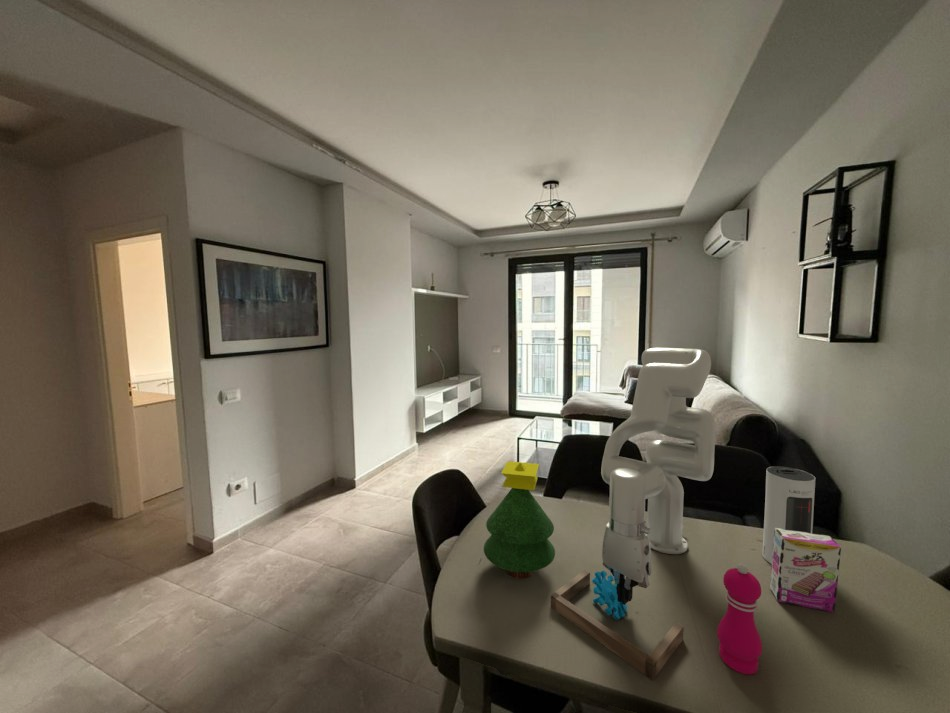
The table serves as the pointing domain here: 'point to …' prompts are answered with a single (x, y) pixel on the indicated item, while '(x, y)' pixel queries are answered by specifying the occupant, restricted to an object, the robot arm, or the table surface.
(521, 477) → the decorative tree
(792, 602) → the candy bar box
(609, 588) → the gear
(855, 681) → the table surface
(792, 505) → the speaker
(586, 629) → the frame
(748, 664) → the pepper mill
